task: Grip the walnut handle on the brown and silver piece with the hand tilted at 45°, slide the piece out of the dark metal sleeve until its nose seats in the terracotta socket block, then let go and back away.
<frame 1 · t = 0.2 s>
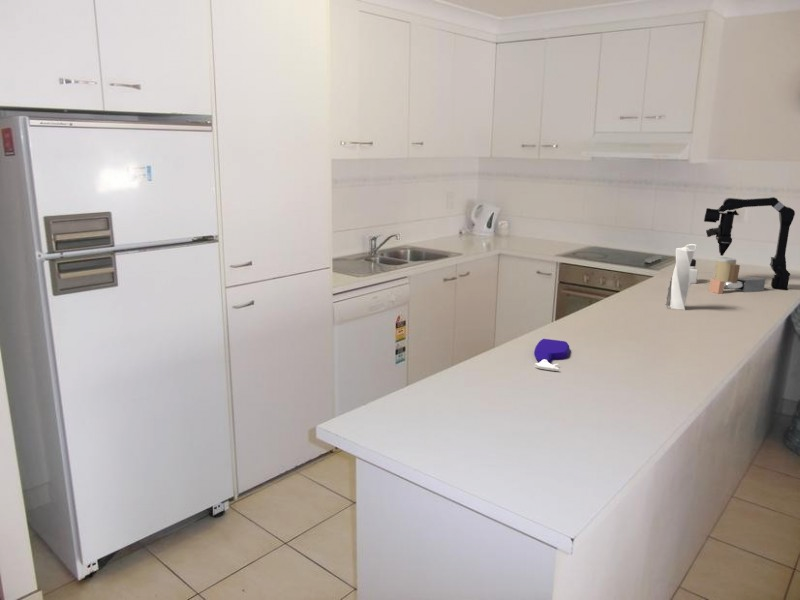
hand: (720, 254, 316), 15 cm above the counter, tool pointing down, fingers open, 9 cm apart
coffee cup: (722, 281, 321), on the counter
steel sleeve: (744, 290, 302), on the counter
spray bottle: (549, 359, 201), on the counter
skyscraper: (676, 309, 267), on the counter
socket block: (716, 286, 296), on the counter
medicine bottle: (686, 282, 318), on the counter
brown and silver piece: (742, 276, 299), point 7 cm above the counter, slide at 0.0 cm
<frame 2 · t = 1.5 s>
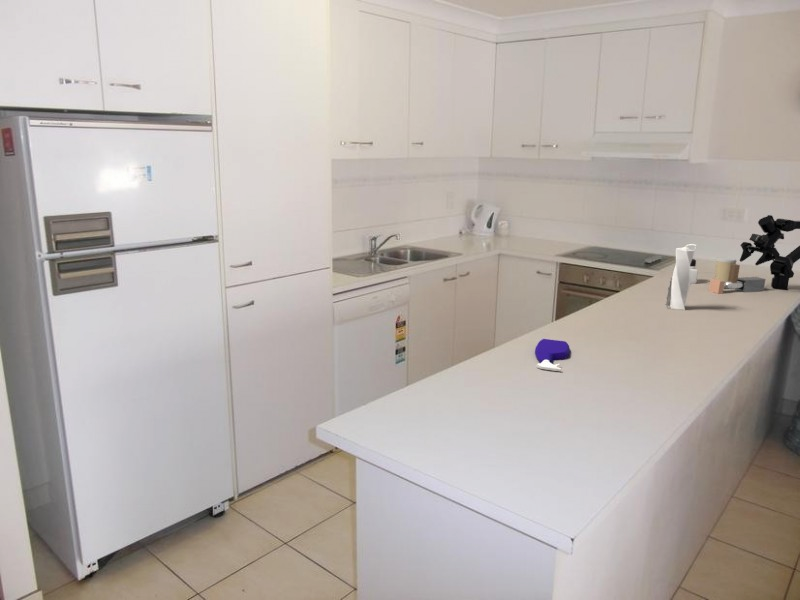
hand: (747, 263, 299), 14 cm above the counter, tool tilted 45°, fingers open, 9 cm apart
nothing on the counter moved.
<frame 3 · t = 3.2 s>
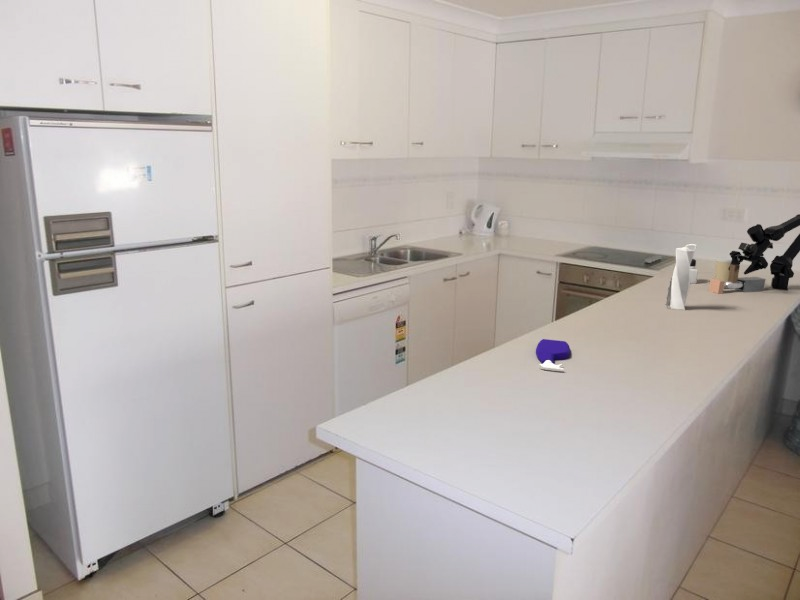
hand: (736, 271, 298), 9 cm above the counter, tool tilted 45°, fingers open, 9 cm apart
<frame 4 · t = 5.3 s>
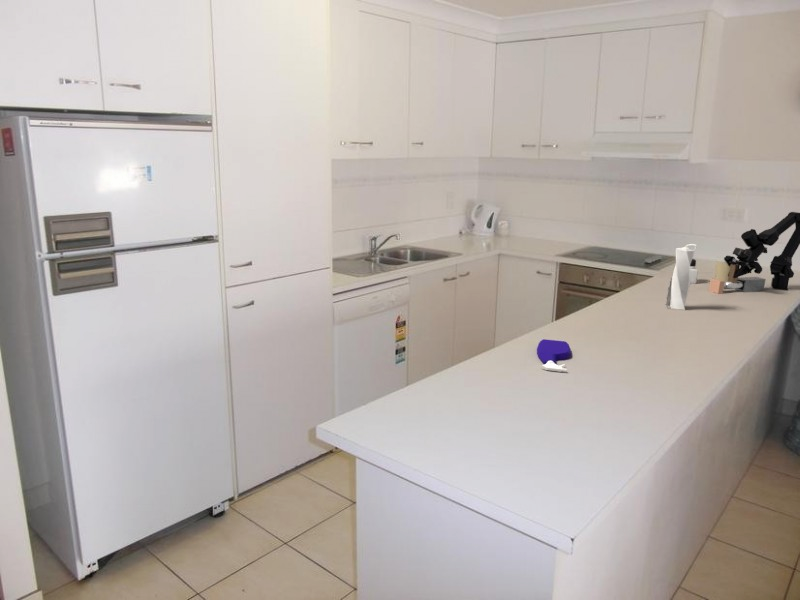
hand: (730, 277, 298), 7 cm above the counter, tool tilted 45°, fingers closed on brown and silver piece, 3 cm apart
brown and silver piece: (742, 276, 299), point 7 cm above the counter, slide at 0.0 cm, touching gripper
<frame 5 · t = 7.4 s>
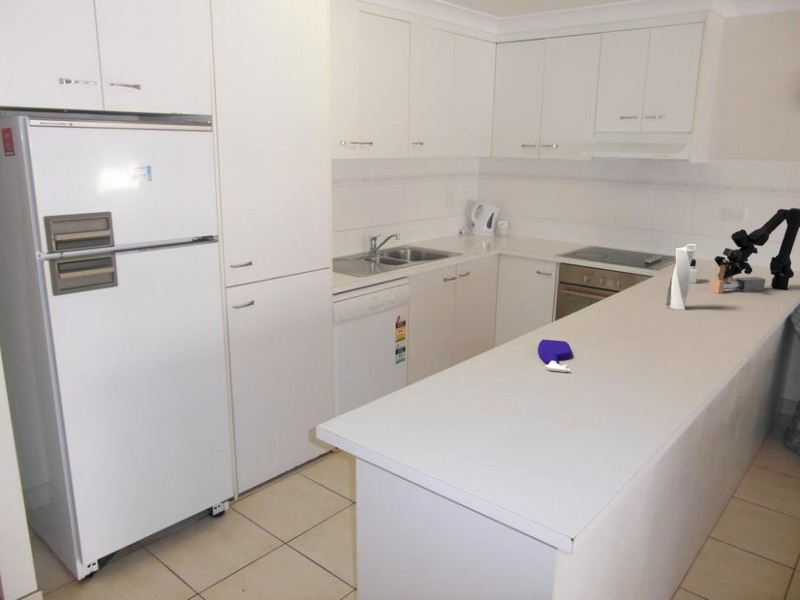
hand: (721, 277, 296), 7 cm above the counter, tool tilted 45°, fingers closed on brown and silver piece, 3 cm apart
brown and silver piece: (732, 276, 298), point 7 cm above the counter, slide at 5.8 cm, touching gripper, socket block
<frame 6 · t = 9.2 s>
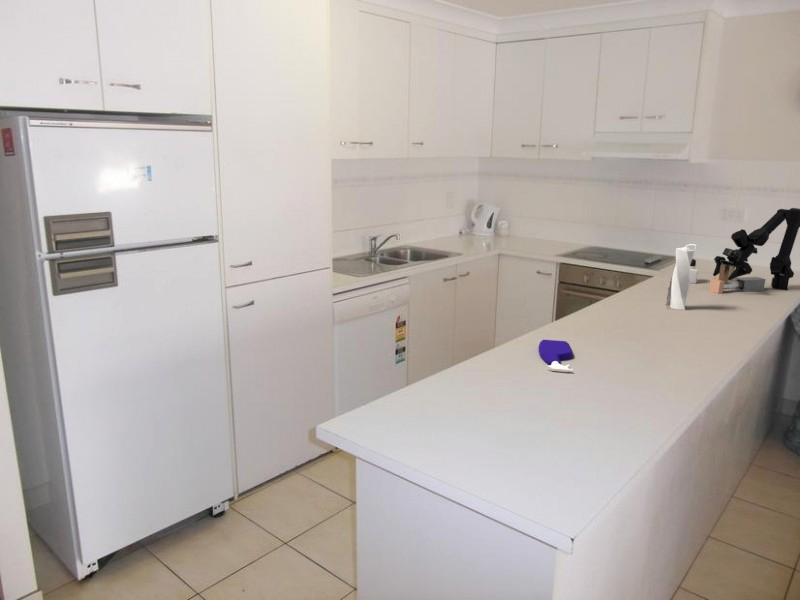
hand: (720, 277, 296), 7 cm above the counter, tool tilted 45°, fingers open, 9 cm apart
brown and silver piece: (732, 276, 298), point 7 cm above the counter, slide at 5.8 cm, touching socket block
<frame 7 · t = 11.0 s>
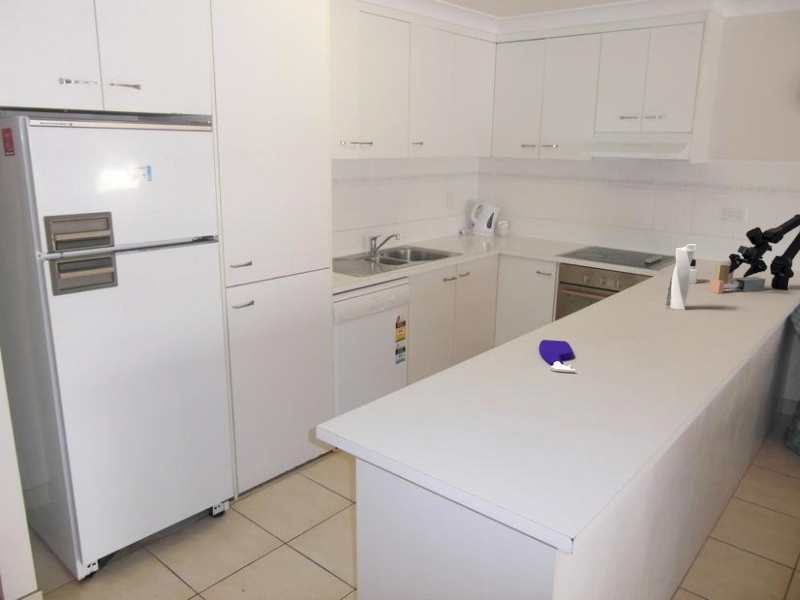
hand: (735, 275, 298), 8 cm above the counter, tool tilted 45°, fingers open, 9 cm apart
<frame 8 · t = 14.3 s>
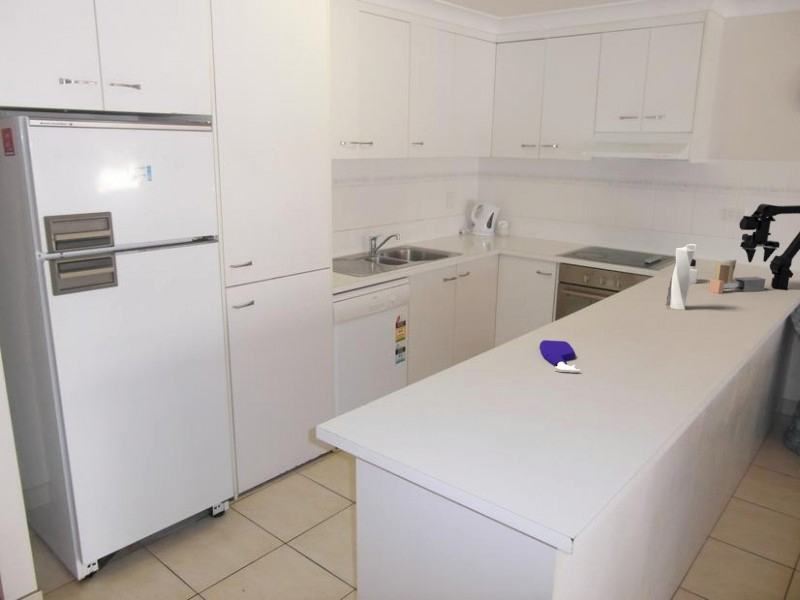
hand: (757, 262, 305), 13 cm above the counter, tool pointing down, fingers open, 9 cm apart
at the end: brown and silver piece slide at 5.8 cm; the gripper is holding nothing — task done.
